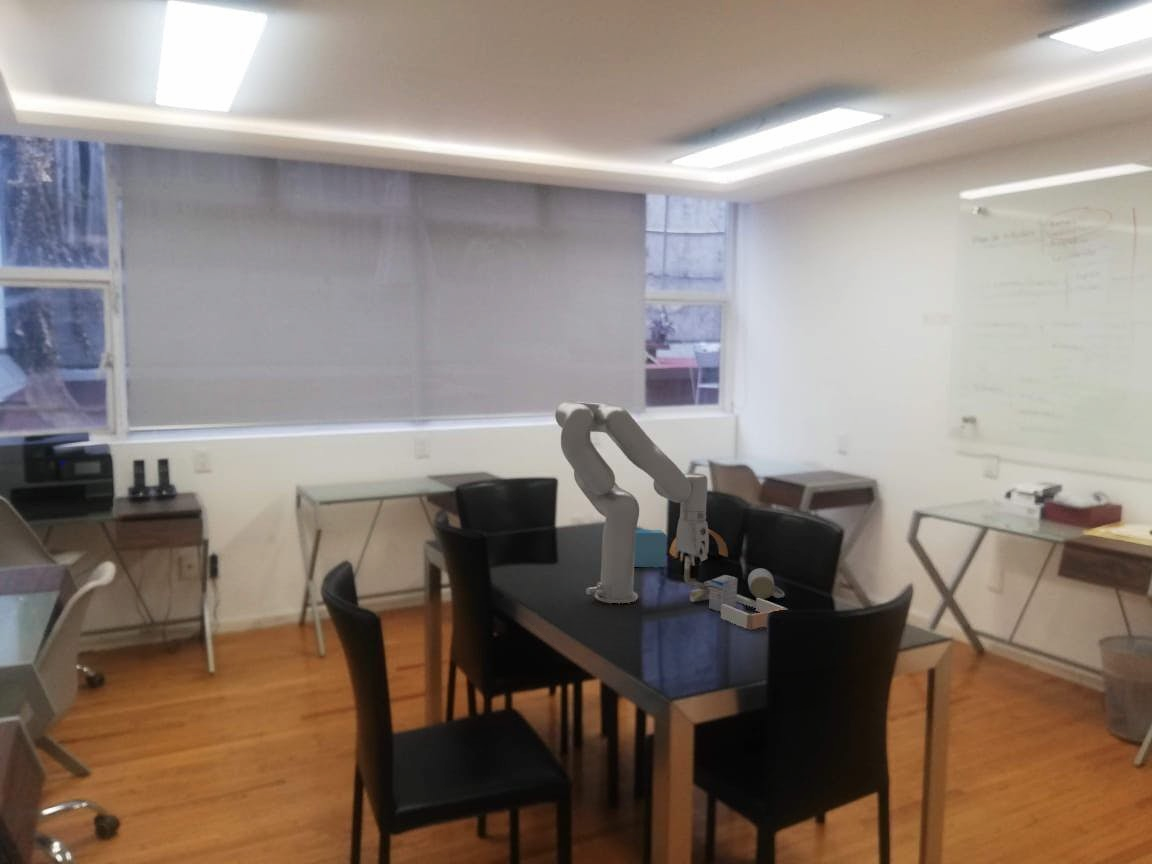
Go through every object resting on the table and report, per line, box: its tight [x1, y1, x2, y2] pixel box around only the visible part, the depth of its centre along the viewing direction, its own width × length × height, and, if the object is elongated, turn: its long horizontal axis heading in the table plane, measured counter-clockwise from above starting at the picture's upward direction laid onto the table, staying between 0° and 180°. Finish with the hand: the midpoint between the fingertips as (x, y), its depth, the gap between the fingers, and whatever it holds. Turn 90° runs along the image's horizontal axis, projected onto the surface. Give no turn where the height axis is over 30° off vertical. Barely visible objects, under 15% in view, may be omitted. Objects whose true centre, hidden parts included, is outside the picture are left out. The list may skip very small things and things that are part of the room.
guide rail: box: [736, 593, 756, 609], centre depth 255 cm, size 2×20×2 cm, turn 33°
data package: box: [634, 529, 668, 568], centre depth 290 cm, size 12×4×12 cm, turn 97°
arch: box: [668, 528, 729, 559], centre depth 308 cm, size 6×20×10 cm, turn 105°
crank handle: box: [683, 554, 711, 603], centre depth 258 cm, size 16×11×11 cm
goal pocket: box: [720, 597, 789, 629], centre depth 237 cm, size 14×11×4 cm
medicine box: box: [708, 574, 738, 613], centre depth 248 cm, size 8×4×9 cm, turn 141°
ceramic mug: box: [747, 567, 785, 600], centre depth 261 cm, size 11×8×8 cm
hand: (689, 575), depth 260 cm, fingers closed on crank handle, 3 cm apart
